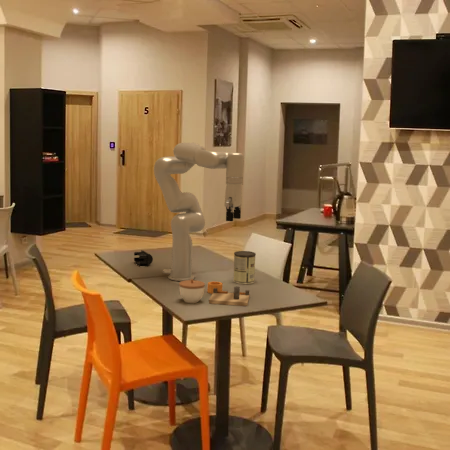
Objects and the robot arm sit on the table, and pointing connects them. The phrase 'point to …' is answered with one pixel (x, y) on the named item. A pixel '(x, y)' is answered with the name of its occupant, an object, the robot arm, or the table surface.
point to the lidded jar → (191, 290)
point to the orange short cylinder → (214, 286)
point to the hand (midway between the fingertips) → (233, 219)
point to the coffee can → (244, 267)
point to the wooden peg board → (230, 297)
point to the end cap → (143, 258)
